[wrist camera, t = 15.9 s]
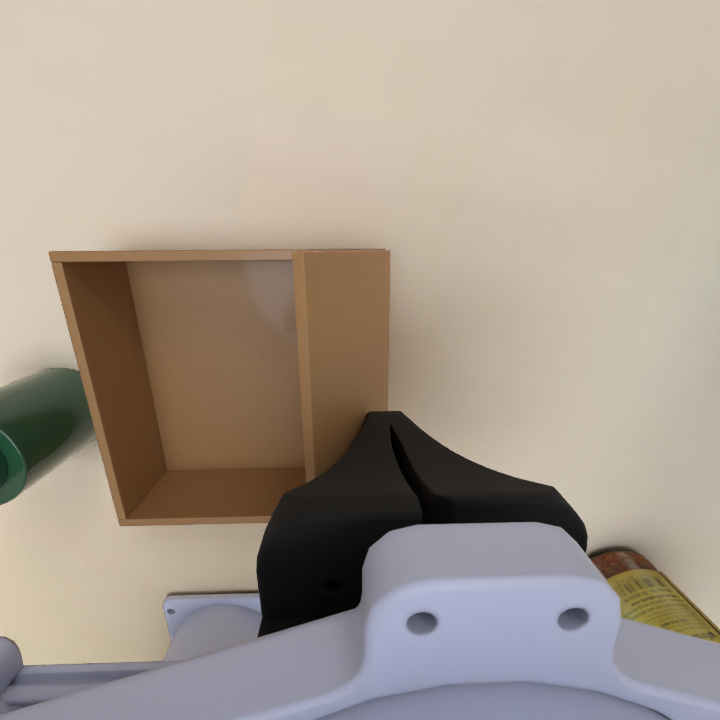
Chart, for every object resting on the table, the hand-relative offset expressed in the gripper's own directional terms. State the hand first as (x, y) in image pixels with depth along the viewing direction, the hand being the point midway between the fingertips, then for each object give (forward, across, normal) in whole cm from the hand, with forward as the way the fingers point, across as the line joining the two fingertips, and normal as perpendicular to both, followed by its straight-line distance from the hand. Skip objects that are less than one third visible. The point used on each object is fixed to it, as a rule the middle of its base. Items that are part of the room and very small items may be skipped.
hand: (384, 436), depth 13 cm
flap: (0, +1, 0) cm, 1 cm away
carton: (+7, +6, 0) cm, 10 cm away
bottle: (+7, +17, +2) cm, 19 cm away
